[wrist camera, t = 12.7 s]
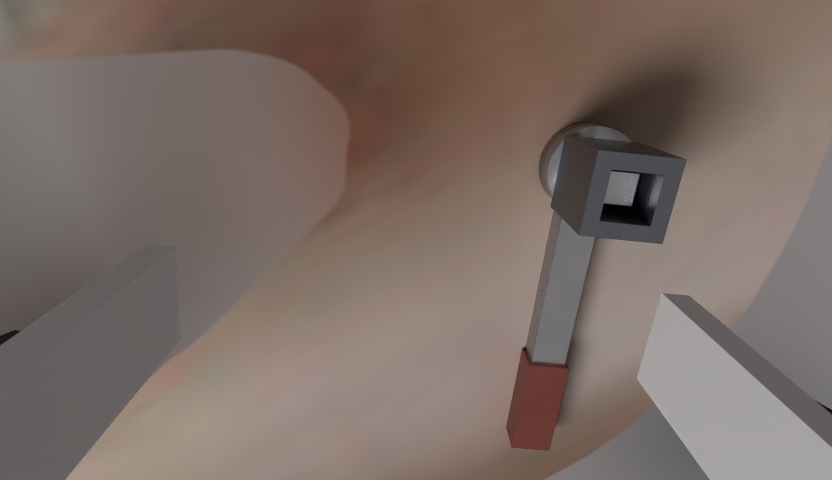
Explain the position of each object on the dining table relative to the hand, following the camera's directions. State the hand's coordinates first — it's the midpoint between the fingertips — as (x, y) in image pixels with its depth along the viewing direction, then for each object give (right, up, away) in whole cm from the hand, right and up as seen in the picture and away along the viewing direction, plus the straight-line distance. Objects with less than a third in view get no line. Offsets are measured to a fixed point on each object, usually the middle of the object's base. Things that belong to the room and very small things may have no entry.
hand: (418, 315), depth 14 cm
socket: (+14, +7, +25) cm, 29 cm away
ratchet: (+12, -3, +32) cm, 34 cm away
